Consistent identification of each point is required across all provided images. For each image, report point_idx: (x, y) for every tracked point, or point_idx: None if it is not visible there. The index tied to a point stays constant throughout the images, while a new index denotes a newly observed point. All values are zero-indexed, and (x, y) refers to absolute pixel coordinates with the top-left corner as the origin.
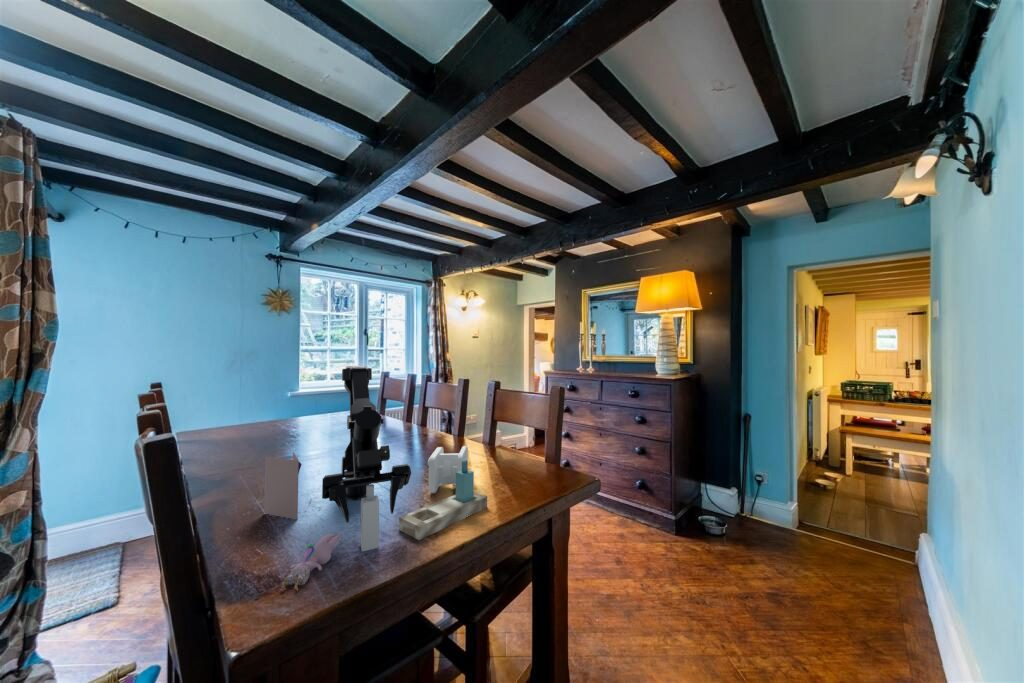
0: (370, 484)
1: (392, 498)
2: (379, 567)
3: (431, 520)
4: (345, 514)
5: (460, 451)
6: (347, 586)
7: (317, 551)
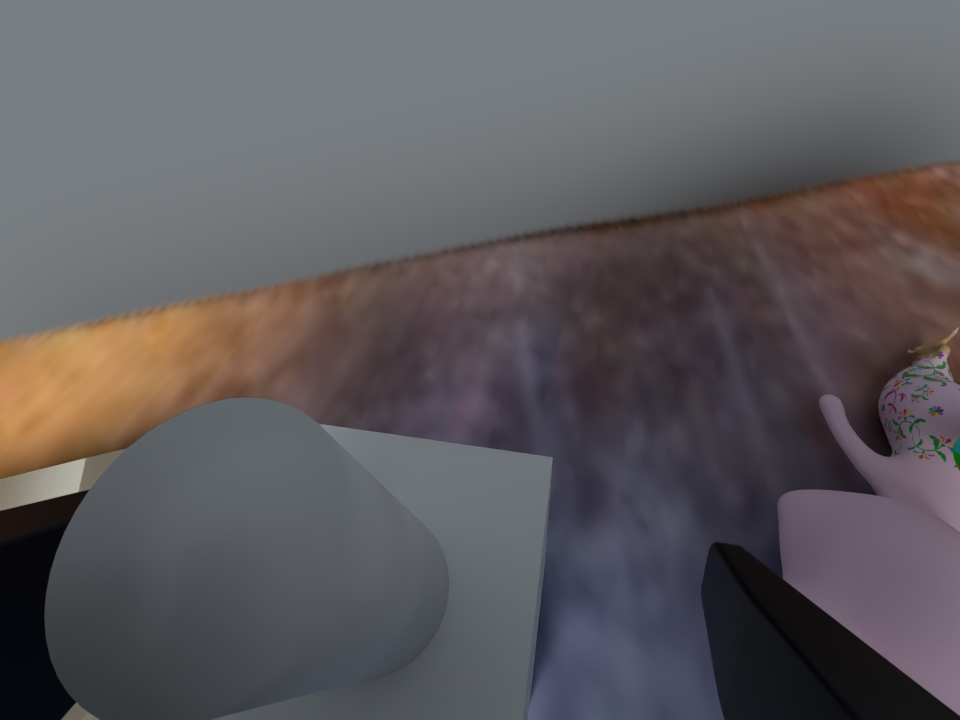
0: (104, 692)
1: (71, 510)
2: (504, 338)
3: (33, 481)
4: (793, 587)
5: None
6: (664, 281)
7: (919, 509)
